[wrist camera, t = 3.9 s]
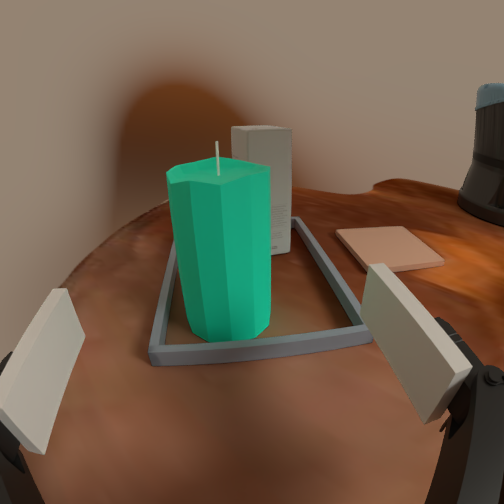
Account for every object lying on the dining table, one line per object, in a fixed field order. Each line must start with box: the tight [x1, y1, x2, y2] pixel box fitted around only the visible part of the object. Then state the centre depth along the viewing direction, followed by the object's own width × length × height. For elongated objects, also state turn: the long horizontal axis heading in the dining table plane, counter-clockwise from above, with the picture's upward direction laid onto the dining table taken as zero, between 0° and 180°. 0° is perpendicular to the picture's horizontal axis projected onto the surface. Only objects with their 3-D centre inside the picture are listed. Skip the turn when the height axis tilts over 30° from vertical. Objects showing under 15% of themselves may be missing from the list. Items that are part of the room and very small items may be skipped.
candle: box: [166, 141, 271, 343], centre depth 19 cm, size 6×6×12 cm
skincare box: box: [231, 126, 292, 255], centre depth 30 cm, size 6×4×12 cm
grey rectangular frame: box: [148, 217, 373, 366], centre depth 27 cm, size 14×20×1 cm
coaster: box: [335, 226, 445, 273], centre depth 30 cm, size 9×9×1 cm
